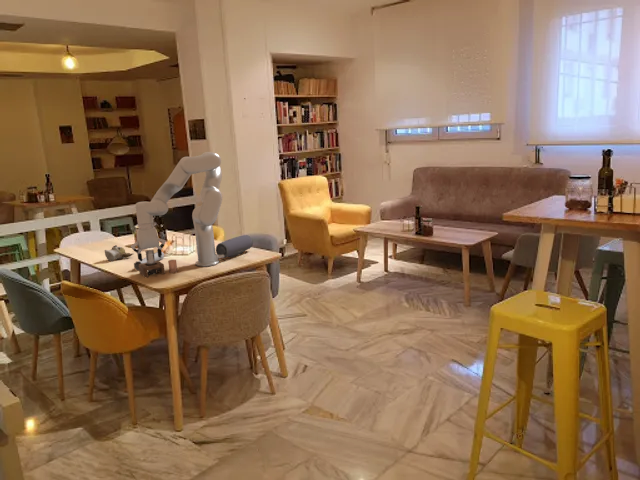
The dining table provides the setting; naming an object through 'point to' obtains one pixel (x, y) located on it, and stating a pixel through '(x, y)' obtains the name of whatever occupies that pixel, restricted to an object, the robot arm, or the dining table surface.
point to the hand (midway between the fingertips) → (150, 258)
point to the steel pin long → (150, 261)
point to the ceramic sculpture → (116, 253)
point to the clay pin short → (172, 266)
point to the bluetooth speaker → (234, 246)
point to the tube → (136, 264)
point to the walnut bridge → (157, 266)
